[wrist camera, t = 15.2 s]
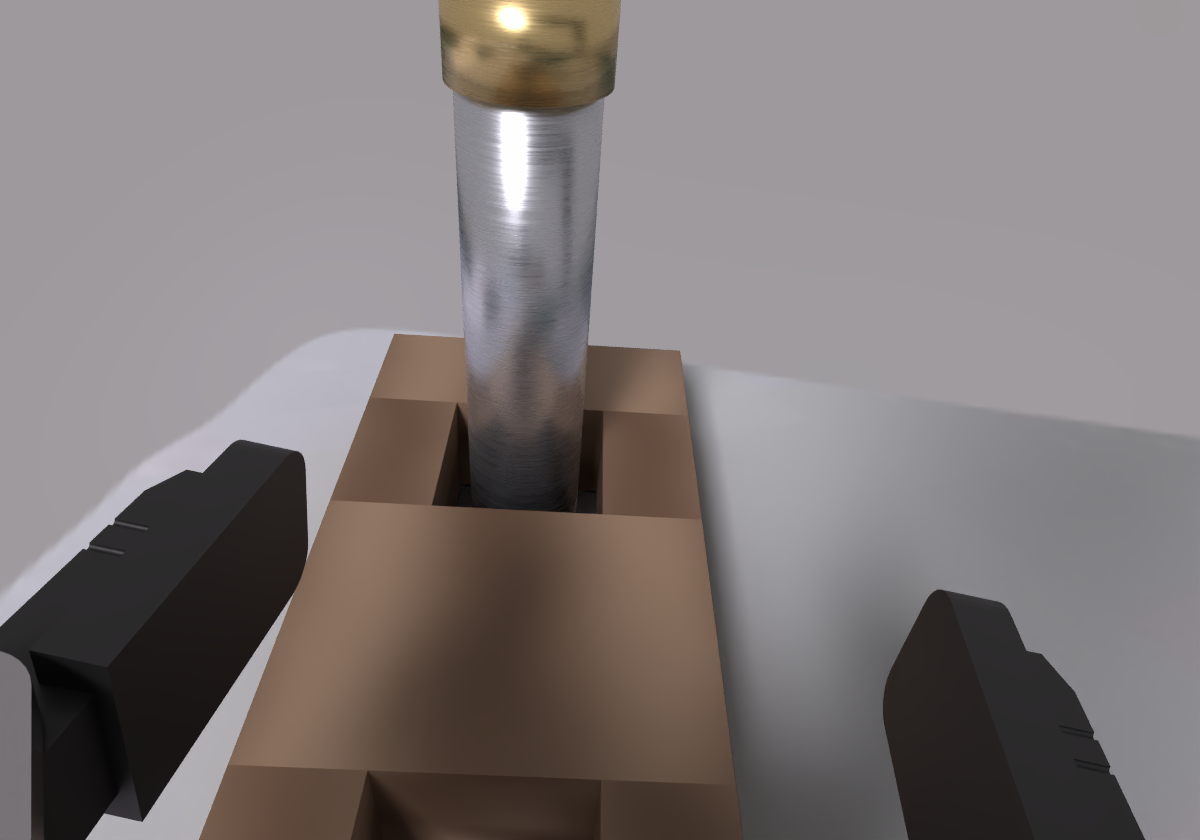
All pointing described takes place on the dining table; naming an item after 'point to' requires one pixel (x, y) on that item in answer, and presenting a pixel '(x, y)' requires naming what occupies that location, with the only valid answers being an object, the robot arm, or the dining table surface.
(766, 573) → the dining table surface
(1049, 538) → the dining table surface
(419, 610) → the stand
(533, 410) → the gold-capped metal cylinder
